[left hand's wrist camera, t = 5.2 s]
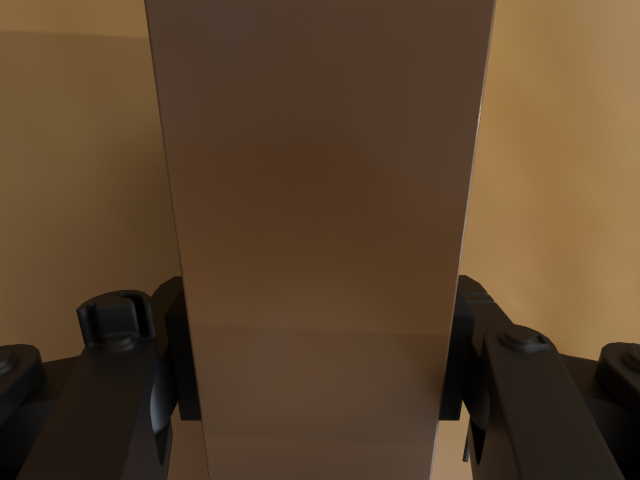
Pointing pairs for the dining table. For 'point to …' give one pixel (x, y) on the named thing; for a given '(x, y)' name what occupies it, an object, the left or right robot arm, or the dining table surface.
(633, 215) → the dining table surface
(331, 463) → the post
